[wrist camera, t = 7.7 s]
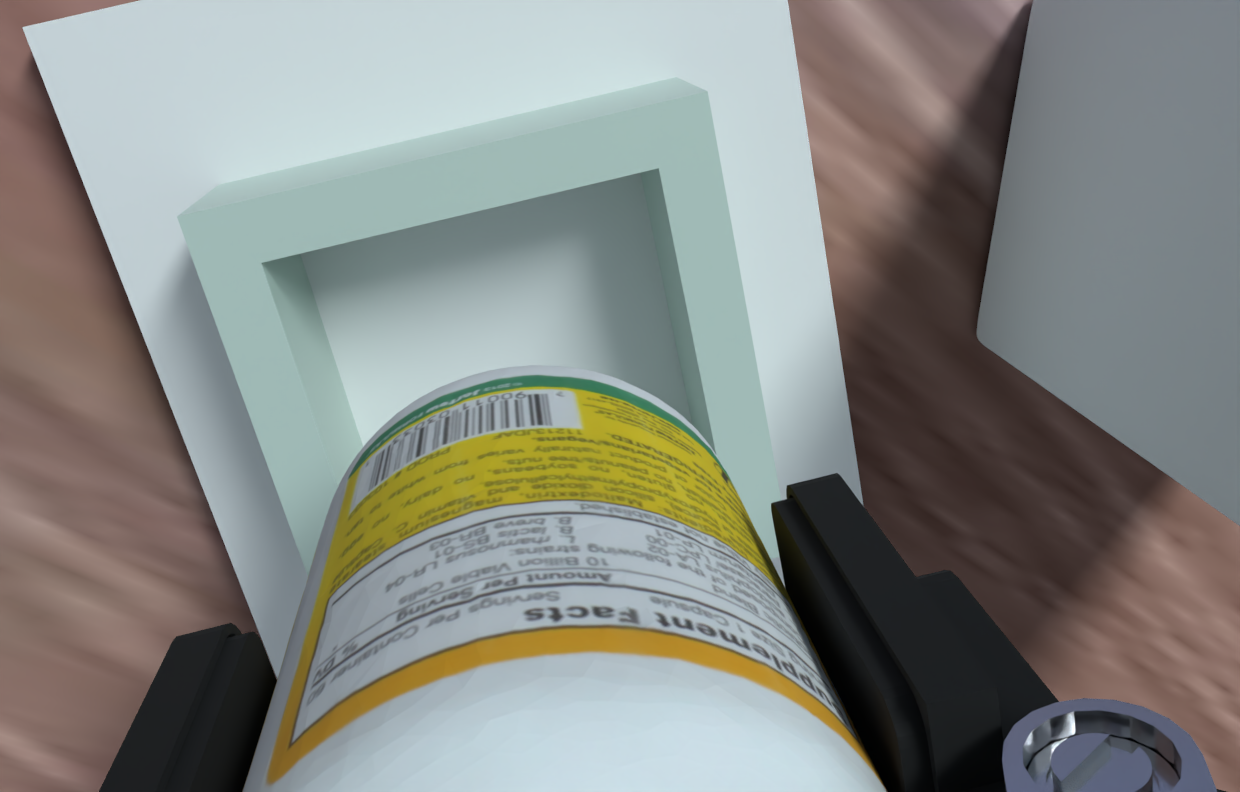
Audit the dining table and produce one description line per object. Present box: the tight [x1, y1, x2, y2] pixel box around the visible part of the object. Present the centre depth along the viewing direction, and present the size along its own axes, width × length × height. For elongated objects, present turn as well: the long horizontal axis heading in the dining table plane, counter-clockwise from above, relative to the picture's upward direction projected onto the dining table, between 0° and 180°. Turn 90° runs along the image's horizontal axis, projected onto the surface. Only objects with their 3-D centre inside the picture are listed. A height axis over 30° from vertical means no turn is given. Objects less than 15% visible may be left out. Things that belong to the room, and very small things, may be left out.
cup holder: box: [22, 0, 864, 679], centre depth 21 cm, size 15×13×4 cm
